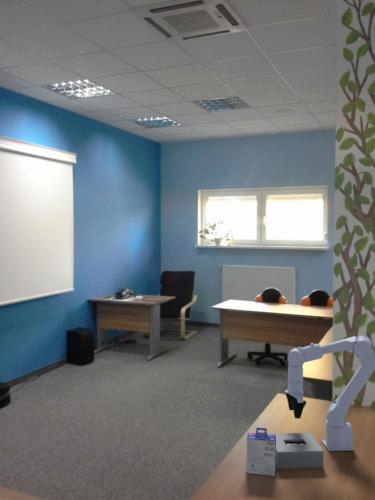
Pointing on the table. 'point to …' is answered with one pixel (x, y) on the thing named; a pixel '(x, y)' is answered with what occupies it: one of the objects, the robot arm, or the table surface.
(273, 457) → the ink cartridge box
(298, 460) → the ballot box
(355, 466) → the table surface
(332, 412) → the robot arm
